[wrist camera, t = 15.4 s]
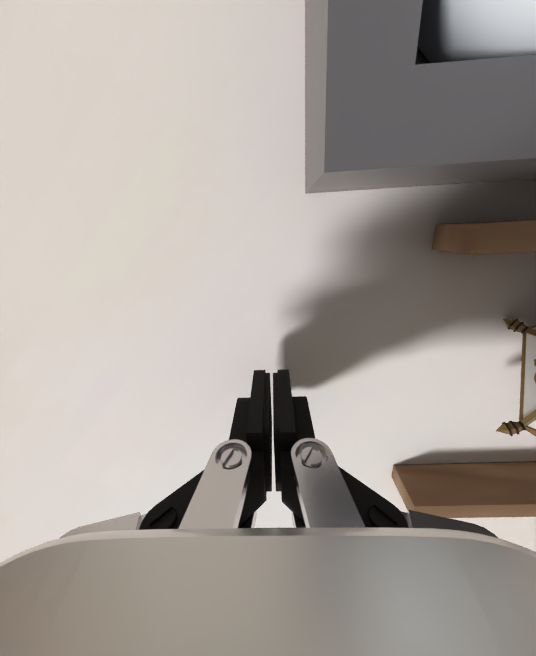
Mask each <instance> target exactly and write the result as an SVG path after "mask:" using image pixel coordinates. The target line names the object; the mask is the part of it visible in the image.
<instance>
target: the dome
mask: <svg viewBox="0 0 536 656" xmlns="http://www.w3.org/2000/svg"><path fill="white" fill-rule="evenodd" d="M418 46H419V48H420V50H421V52H422V53H423V55H424V56H425V57H426V58H427V60H428V61H429V62H430V63H441V62H453V61H465V60H477V59H489V58H501V57H513V56H525V55H536V0H423V4H422V12H421V20H420V28H419V37H418Z"/></svg>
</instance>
